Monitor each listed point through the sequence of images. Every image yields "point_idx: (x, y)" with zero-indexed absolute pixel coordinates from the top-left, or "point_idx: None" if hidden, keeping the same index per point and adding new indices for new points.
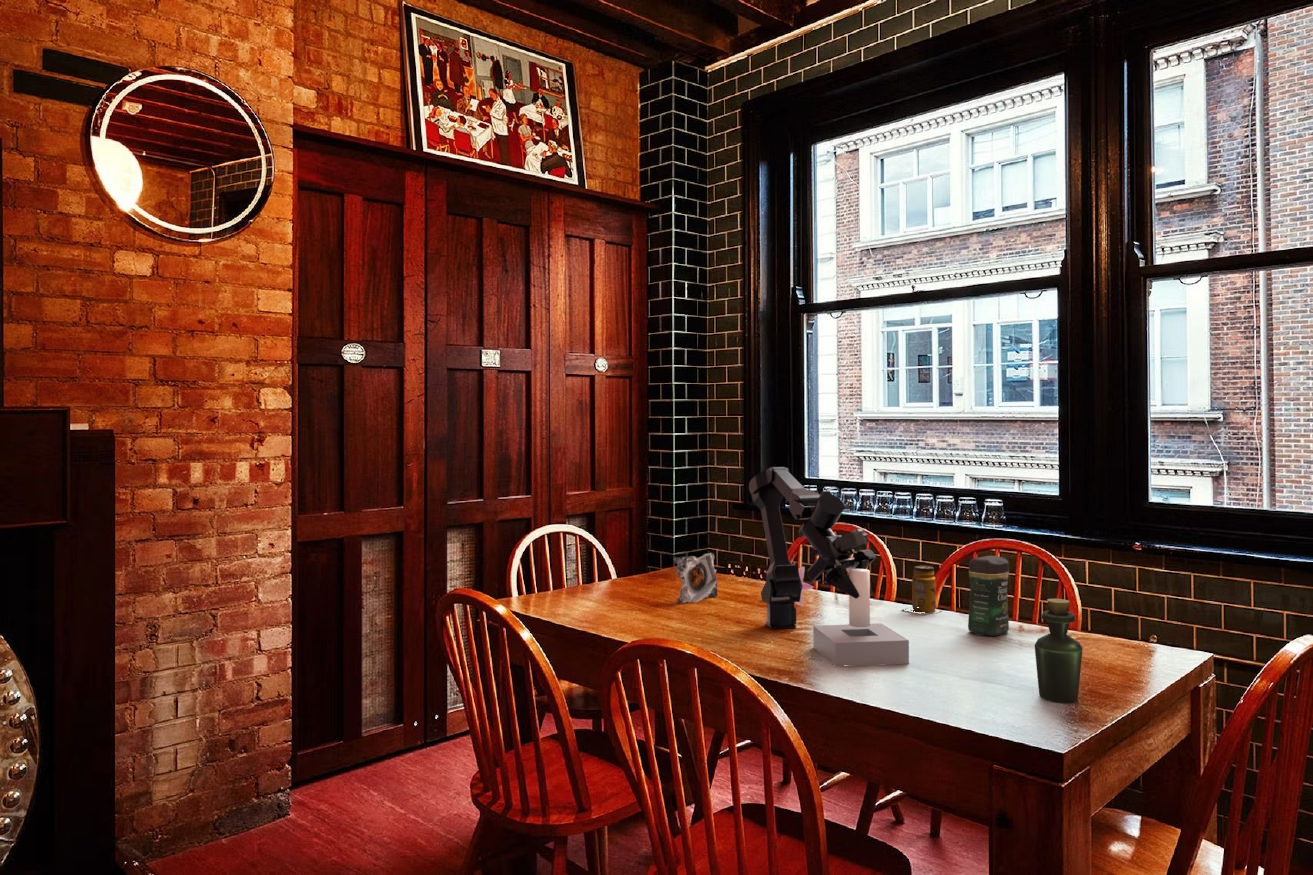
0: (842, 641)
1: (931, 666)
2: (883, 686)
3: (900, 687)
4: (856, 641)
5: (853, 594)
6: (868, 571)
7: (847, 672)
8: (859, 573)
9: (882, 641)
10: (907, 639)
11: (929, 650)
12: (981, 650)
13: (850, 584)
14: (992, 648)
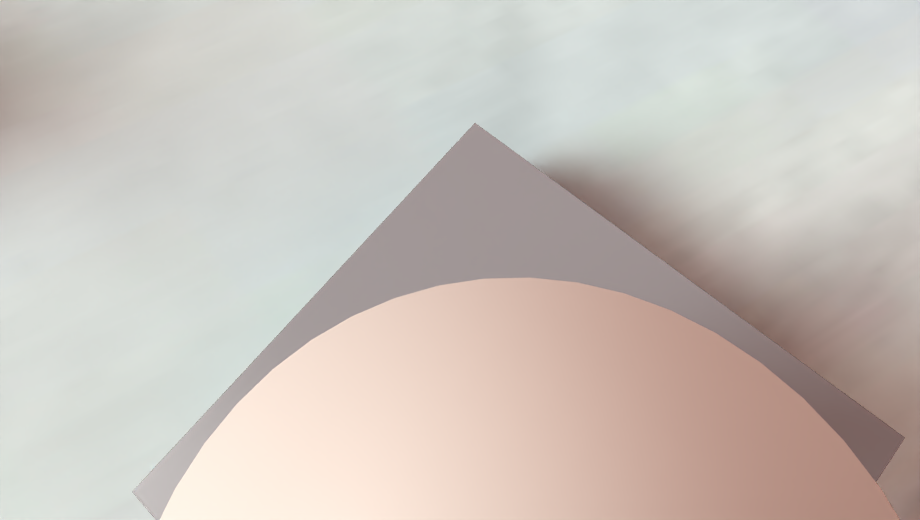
0: (827, 418)
1: (452, 94)
2: (891, 89)
3: (842, 37)
4: (747, 341)
5: None
6: (501, 278)
7: (844, 322)
8: (831, 459)
9: (609, 221)
10: (463, 136)
11: (185, 225)
12: (64, 65)
13: None
14: (7, 49)
